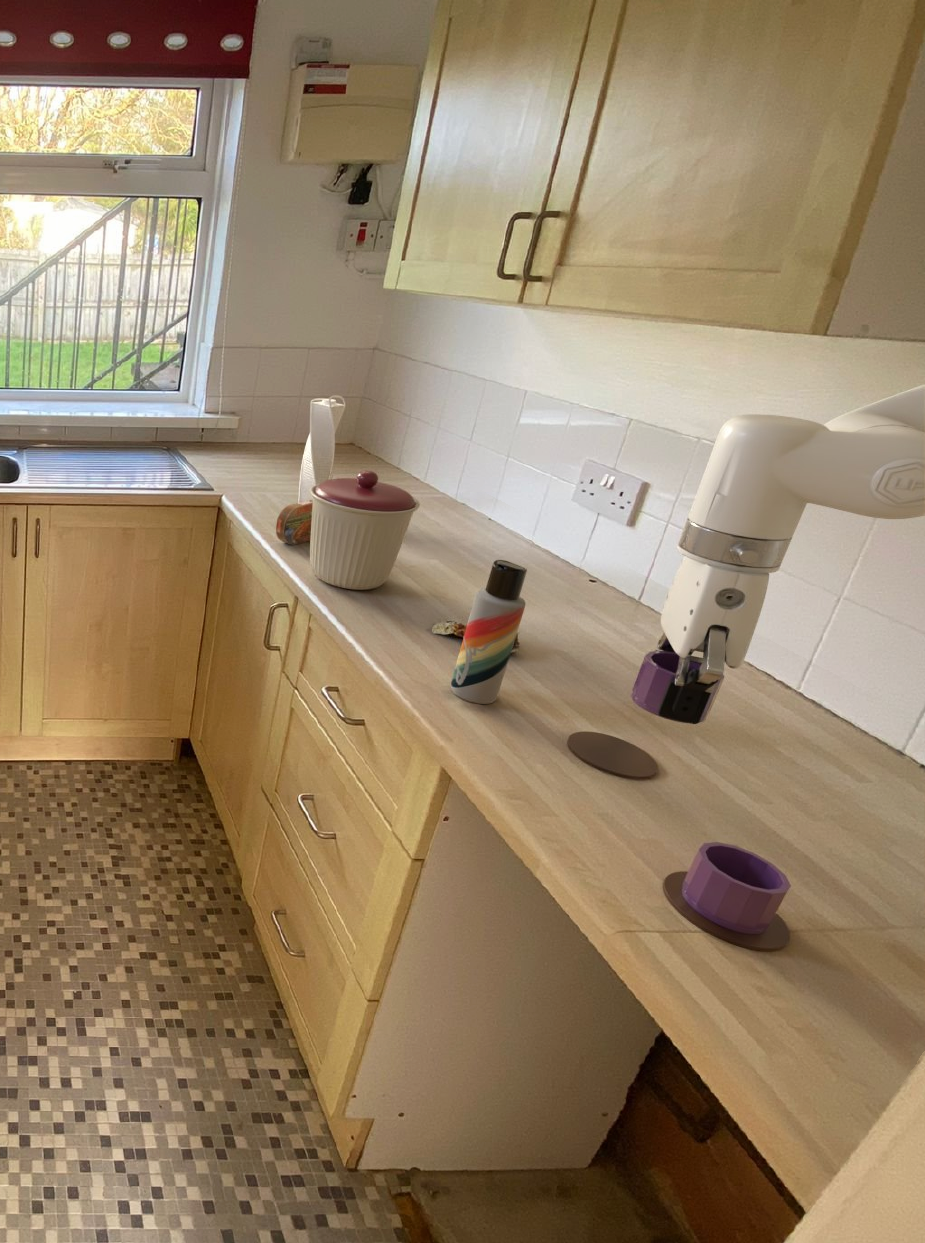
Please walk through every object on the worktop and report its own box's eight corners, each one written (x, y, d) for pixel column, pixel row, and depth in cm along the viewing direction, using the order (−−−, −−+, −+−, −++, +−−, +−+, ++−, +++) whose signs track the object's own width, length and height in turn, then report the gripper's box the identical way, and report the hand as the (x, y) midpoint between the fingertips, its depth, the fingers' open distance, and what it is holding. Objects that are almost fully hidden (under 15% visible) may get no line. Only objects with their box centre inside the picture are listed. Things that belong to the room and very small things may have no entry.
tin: (282, 548, 157) (288, 509, 154) (270, 543, 160) (276, 505, 157) (329, 536, 164) (336, 499, 161) (317, 531, 167) (324, 495, 164)
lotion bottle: (440, 686, 108) (475, 557, 101) (470, 680, 110) (507, 552, 103) (474, 707, 103) (514, 573, 96) (505, 701, 105) (547, 569, 98)
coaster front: (771, 898, 74) (773, 895, 74) (803, 968, 66) (805, 965, 66) (654, 861, 78) (656, 858, 78) (672, 923, 71) (673, 920, 71)
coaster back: (650, 748, 96) (651, 745, 96) (663, 789, 89) (665, 786, 88) (564, 726, 100) (564, 723, 100) (570, 763, 93) (571, 760, 93)
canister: (351, 556, 154) (372, 455, 146) (422, 593, 138) (450, 481, 130) (276, 565, 149) (293, 461, 141) (340, 605, 133) (364, 489, 125)
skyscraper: (330, 519, 175) (353, 397, 164) (293, 515, 177) (314, 394, 166) (326, 507, 182) (348, 390, 172) (291, 504, 184) (310, 388, 174)
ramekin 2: (756, 898, 73) (777, 858, 71) (777, 946, 68) (800, 904, 66) (675, 872, 76) (692, 833, 74) (688, 916, 71) (708, 875, 69)
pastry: (435, 622, 127) (440, 602, 126) (519, 644, 121) (526, 624, 119) (427, 637, 122) (433, 617, 121) (515, 661, 115) (522, 641, 114)
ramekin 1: (698, 700, 82) (714, 660, 80) (713, 730, 77) (731, 687, 75) (626, 684, 84) (640, 645, 83) (636, 712, 79) (652, 671, 78)
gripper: (817, 584, 65) (739, 757, 72) (755, 525, 79) (695, 675, 86) (703, 566, 68) (640, 733, 75) (663, 513, 82) (612, 658, 89)
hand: (670, 701), depth 80 cm, fingers closed on ramekin 1, 6 cm apart
